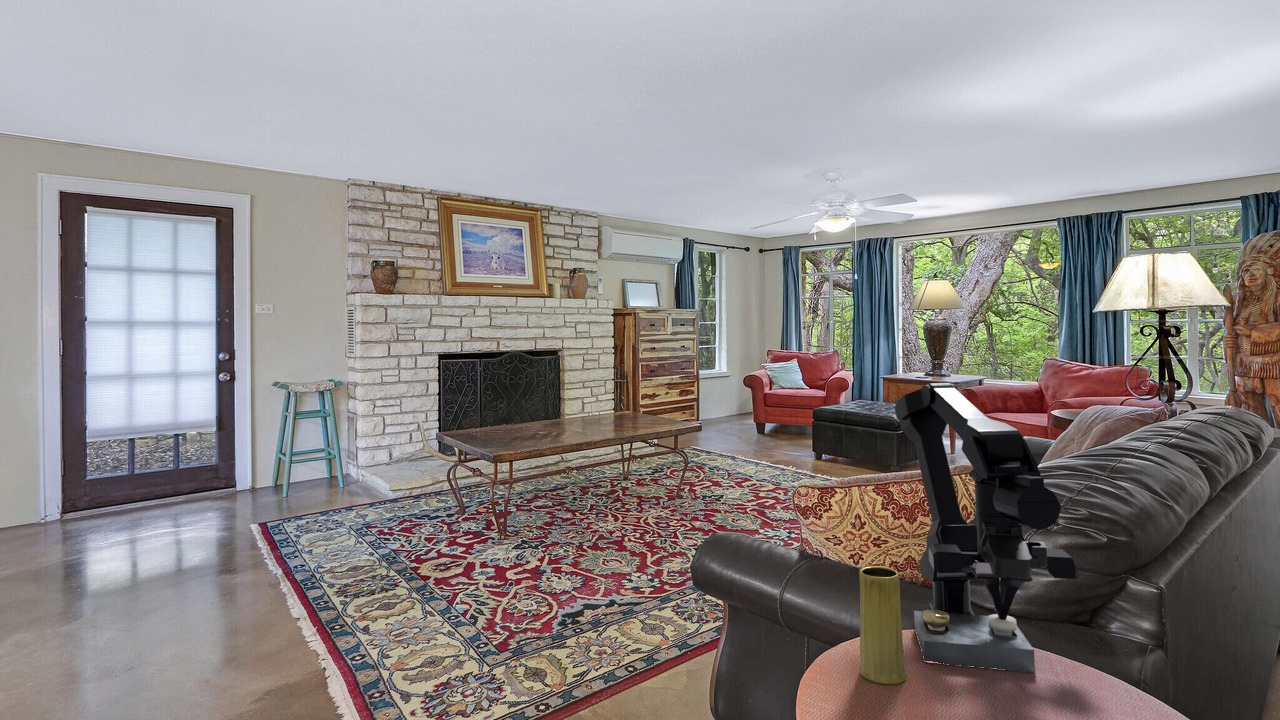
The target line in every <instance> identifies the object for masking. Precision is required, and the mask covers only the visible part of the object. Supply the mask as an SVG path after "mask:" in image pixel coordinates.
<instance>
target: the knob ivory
mask: <svg viewBox="0 0 1280 720" xmlns="http://www.w3.org/2000/svg"><path fill="white" fill-rule="evenodd" d="M987 616H988V619H989V626H990V627H991V628H993V629H994V635H1005V636H1012V631H1016V630H1017V627H1018V626H1017V625H1018V624H1017V619H1016V618H1015V617H1013V616H1010V615H1007V618H1006V620H1000V619H999V618H998V615H997V613H993V614H989V615H987Z"/></svg>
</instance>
